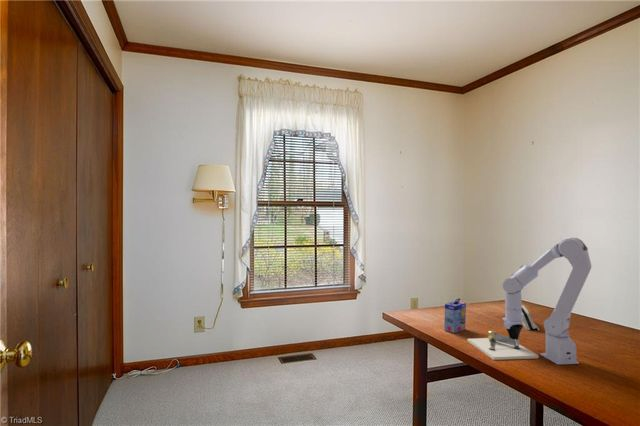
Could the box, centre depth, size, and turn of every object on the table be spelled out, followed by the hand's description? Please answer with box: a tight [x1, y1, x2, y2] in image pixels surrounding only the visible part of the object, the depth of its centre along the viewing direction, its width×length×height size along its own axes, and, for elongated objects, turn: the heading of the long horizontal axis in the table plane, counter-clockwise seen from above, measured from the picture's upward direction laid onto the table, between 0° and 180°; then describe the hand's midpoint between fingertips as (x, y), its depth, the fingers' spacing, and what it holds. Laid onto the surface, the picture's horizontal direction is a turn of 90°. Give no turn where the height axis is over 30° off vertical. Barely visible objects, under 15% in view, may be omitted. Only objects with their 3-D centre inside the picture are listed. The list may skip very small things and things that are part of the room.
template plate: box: [467, 337, 539, 361], centre depth 143 cm, size 20×17×2 cm
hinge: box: [521, 304, 540, 331], centre depth 175 cm, size 17×5×10 cm, turn 163°
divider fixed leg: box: [490, 341, 494, 350], centre depth 144 cm, size 10×1×1 cm, turn 154°
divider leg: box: [487, 329, 520, 348], centre depth 146 cm, size 12×3×3 cm, turn 34°
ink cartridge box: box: [444, 297, 467, 334], centre depth 168 cm, size 10×6×14 cm, turn 130°
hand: (514, 343), depth 144 cm, fingers closed
